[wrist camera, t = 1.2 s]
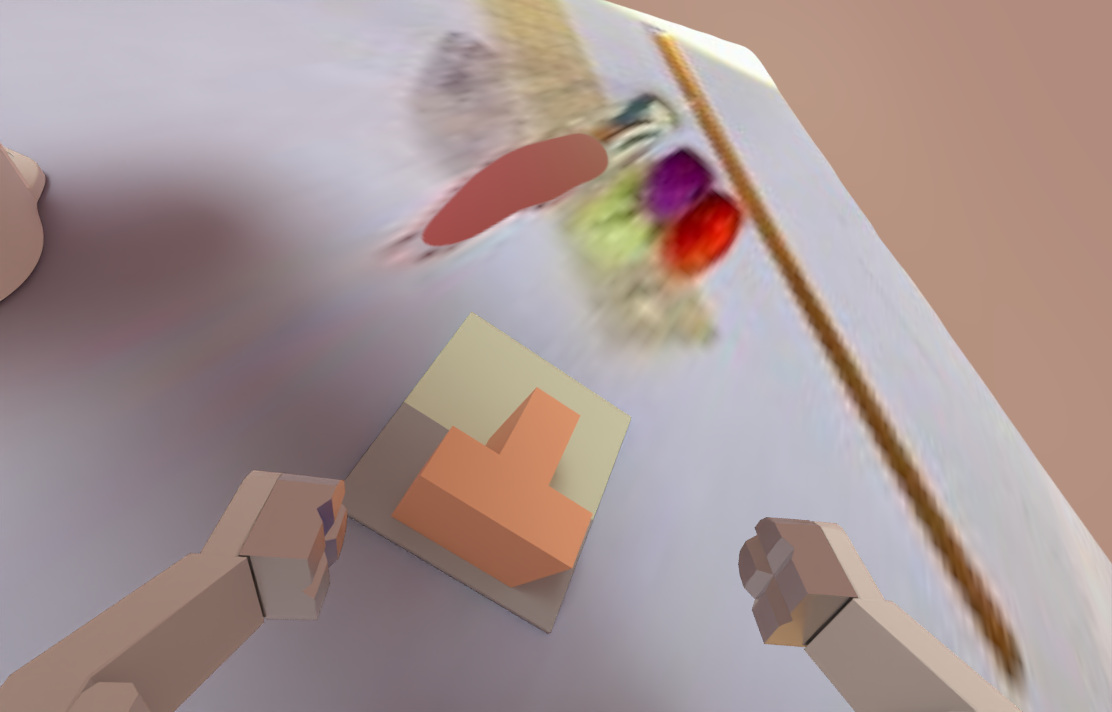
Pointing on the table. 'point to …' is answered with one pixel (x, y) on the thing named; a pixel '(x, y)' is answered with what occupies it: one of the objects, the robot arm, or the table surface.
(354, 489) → the board
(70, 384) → the table surface
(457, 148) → the table surface
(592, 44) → the table surface
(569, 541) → the t block
